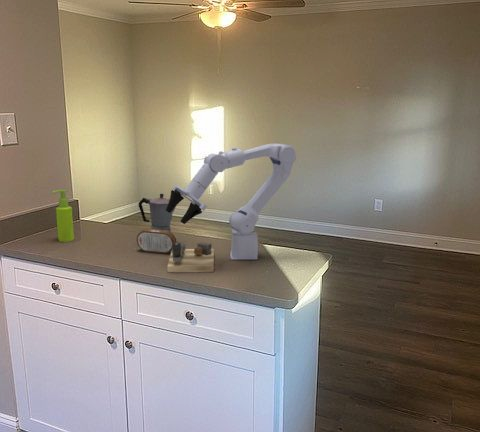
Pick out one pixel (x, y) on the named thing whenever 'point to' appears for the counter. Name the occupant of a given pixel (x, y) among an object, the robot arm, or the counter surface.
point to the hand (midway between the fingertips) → (174, 217)
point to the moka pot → (158, 213)
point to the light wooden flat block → (194, 260)
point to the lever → (178, 250)
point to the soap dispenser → (64, 219)
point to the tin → (156, 240)
